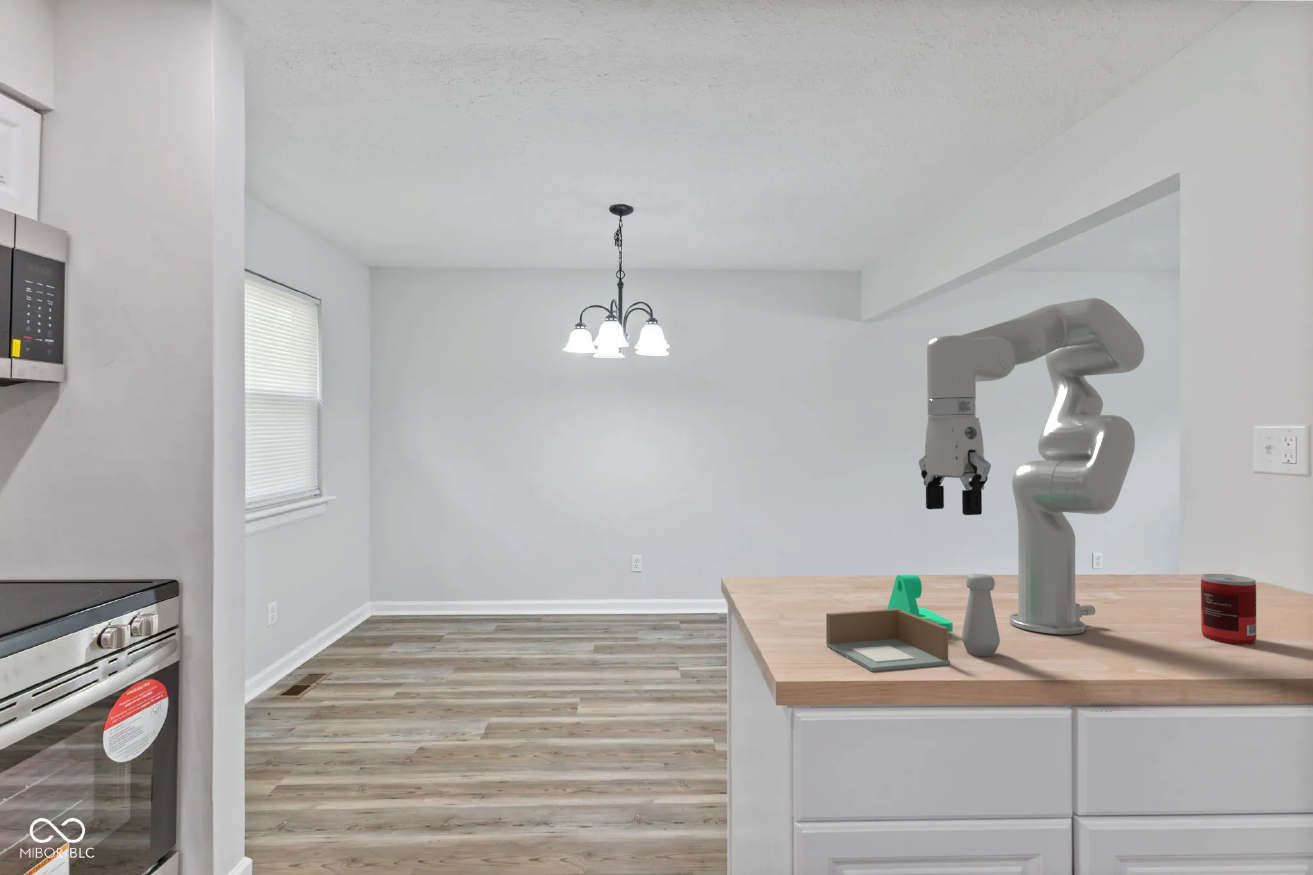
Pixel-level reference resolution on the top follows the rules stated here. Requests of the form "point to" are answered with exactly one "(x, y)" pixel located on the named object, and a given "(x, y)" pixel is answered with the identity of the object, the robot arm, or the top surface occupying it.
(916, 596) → the camera mount
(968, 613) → the salt shaker
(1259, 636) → the top surface
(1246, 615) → the canned food
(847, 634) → the grey and wooden tray
